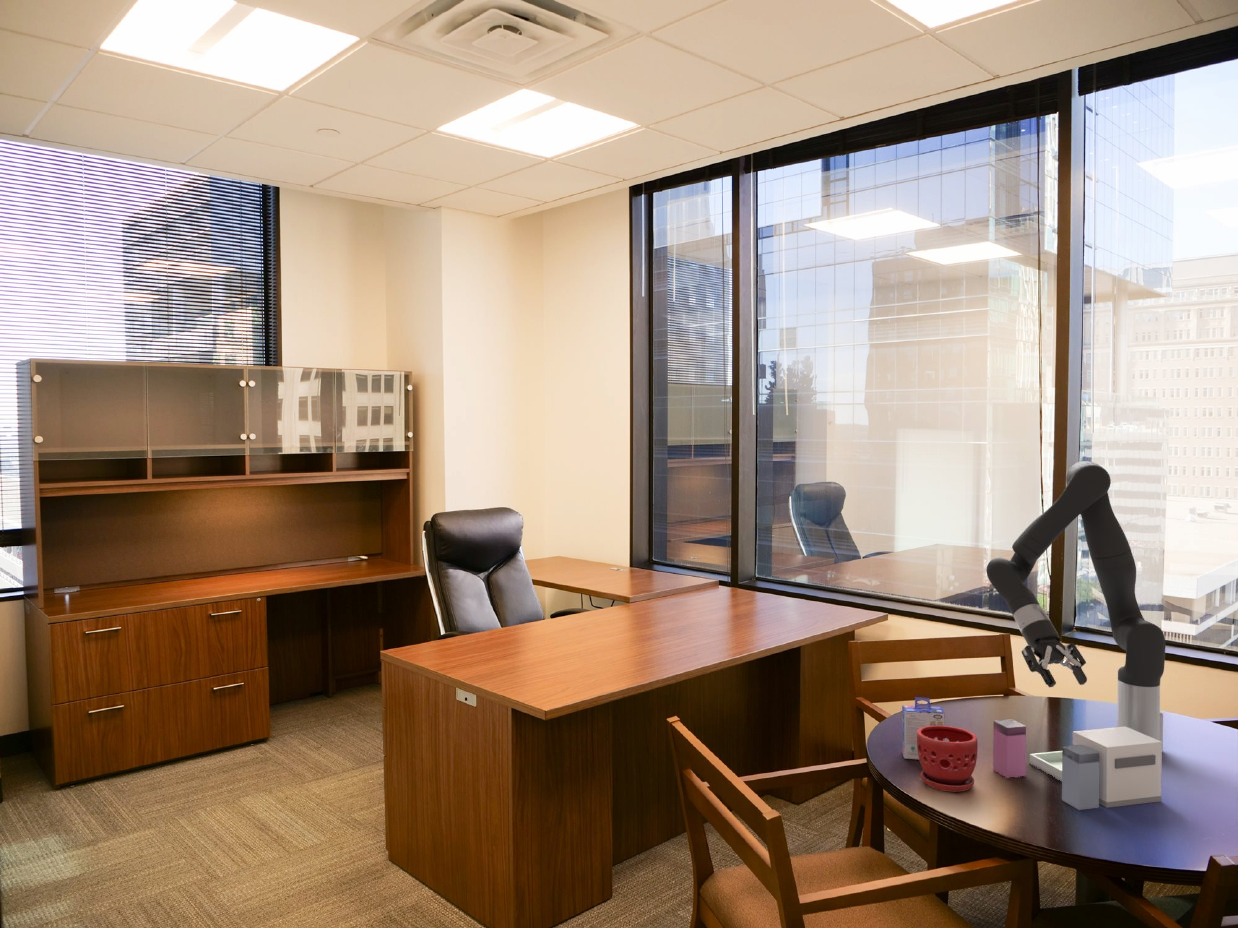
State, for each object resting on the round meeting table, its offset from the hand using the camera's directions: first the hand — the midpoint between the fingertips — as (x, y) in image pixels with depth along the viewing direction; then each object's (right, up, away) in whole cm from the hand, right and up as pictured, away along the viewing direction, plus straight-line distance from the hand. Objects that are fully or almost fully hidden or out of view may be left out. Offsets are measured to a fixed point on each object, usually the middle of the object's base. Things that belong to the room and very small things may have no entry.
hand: (1068, 684), depth 201 cm
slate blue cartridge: (-7, -21, -18) cm, 29 cm away
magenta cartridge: (-15, -21, -1) cm, 26 cm away
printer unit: (+3, -21, -14) cm, 25 cm away
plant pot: (-32, -21, -7) cm, 39 cm away
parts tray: (-1, -21, 0) cm, 21 cm away
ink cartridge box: (-31, -21, +10) cm, 39 cm away
